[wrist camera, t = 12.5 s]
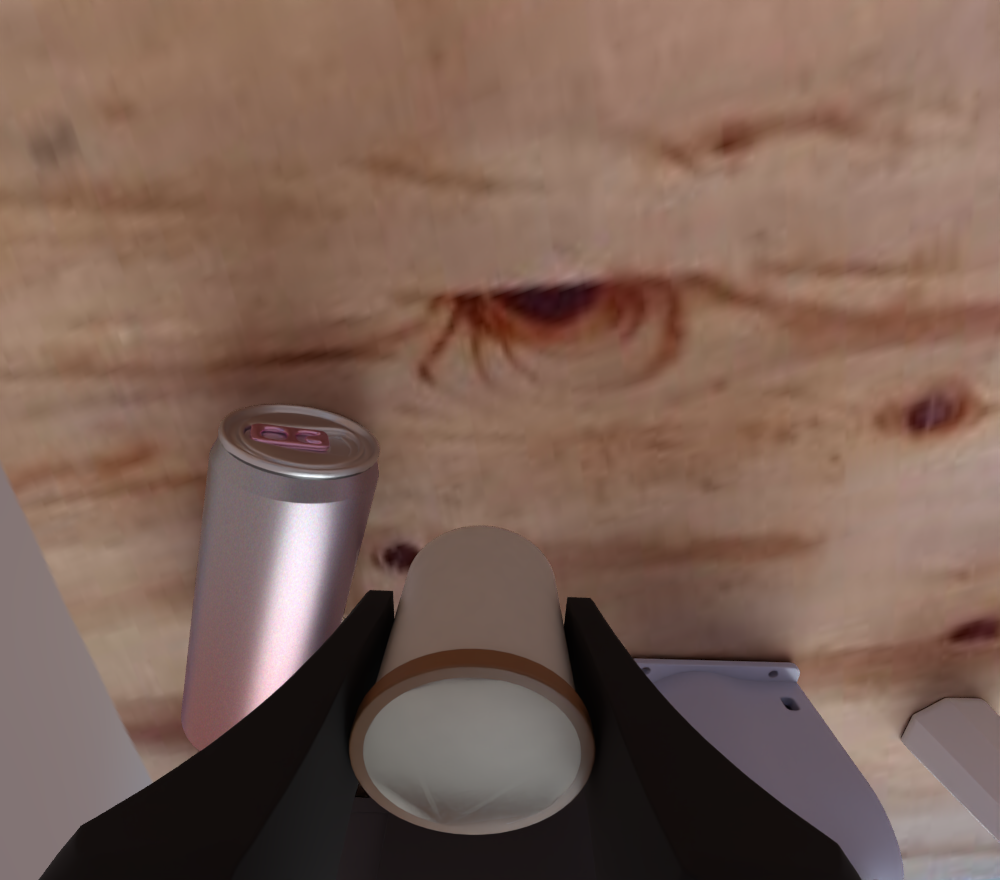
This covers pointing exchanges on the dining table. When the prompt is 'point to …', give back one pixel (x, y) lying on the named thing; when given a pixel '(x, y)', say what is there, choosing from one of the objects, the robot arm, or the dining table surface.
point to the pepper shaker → (961, 753)
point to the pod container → (475, 693)
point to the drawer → (363, 841)
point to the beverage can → (272, 555)
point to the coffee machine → (492, 850)
